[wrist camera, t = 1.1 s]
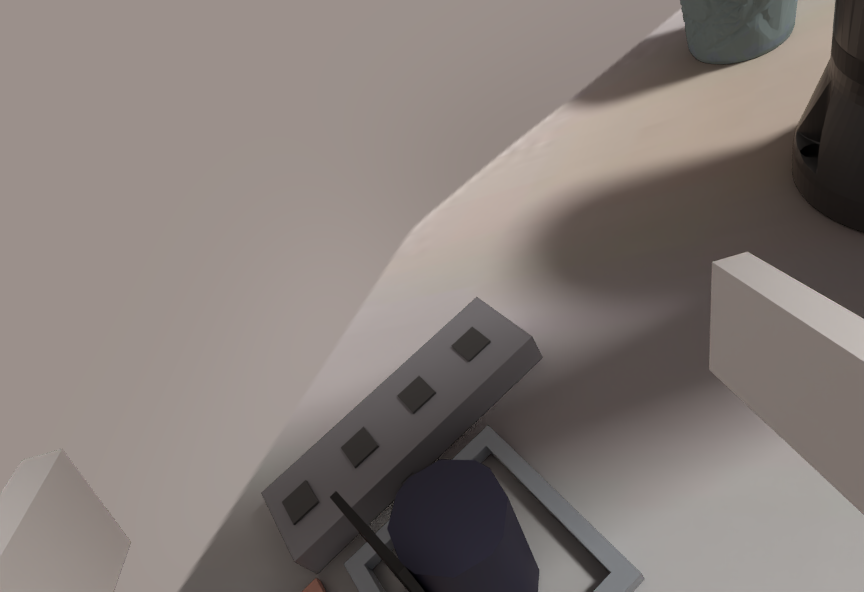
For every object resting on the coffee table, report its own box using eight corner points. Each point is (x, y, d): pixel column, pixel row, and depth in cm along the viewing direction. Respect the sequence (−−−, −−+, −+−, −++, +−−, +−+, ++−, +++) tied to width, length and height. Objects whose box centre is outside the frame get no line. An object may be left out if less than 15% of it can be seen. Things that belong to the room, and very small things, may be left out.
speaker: (439, 689, 28) (350, 620, 22) (403, 583, 33) (320, 499, 26) (569, 610, 29) (521, 519, 22) (516, 516, 33) (463, 417, 27)
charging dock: (488, 317, 43) (475, 295, 41) (723, 492, 29) (720, 470, 27) (282, 506, 40) (259, 491, 38) (435, 807, 26) (410, 807, 24)
